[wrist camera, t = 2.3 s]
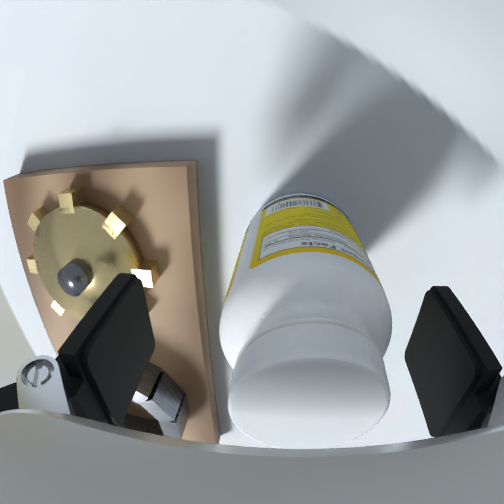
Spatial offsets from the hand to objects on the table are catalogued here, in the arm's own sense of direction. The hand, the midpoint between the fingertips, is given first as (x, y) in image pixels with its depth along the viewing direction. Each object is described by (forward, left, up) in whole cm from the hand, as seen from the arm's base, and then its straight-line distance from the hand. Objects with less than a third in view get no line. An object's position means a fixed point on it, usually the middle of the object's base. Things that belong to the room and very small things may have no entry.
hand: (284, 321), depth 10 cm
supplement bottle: (-1, 0, -7) cm, 7 cm away
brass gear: (+10, +1, -5) cm, 11 cm away
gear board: (+10, +7, -6) cm, 14 cm away
